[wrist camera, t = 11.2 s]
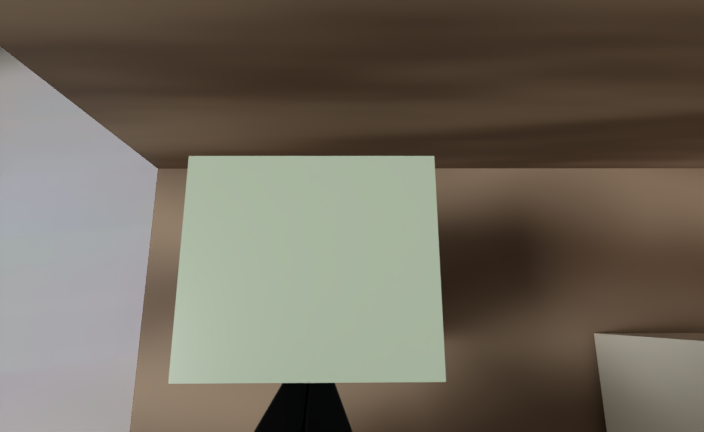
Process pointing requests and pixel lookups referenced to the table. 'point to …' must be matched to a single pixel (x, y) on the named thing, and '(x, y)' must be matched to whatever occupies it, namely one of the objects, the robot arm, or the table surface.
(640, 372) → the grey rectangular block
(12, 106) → the table surface
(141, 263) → the table surface
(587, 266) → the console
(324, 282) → the pale green block
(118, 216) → the table surface
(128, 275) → the table surface
